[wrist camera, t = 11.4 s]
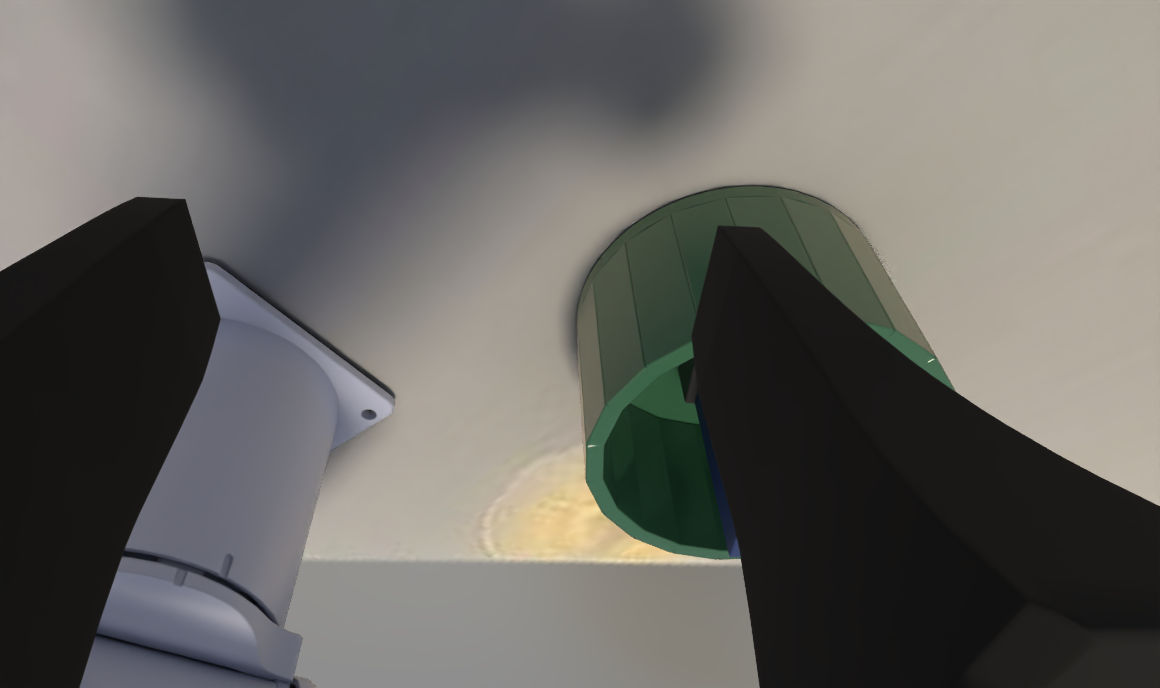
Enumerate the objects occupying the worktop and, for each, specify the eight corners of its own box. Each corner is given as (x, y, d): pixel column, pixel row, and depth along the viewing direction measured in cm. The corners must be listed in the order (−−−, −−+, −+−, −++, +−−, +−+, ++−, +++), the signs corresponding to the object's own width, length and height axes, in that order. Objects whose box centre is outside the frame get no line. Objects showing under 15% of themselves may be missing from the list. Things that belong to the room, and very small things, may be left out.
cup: (675, 455, 30) (700, 593, 25) (514, 298, 24) (510, 440, 20) (921, 336, 26) (1002, 473, 22) (798, 119, 21) (872, 243, 16)
